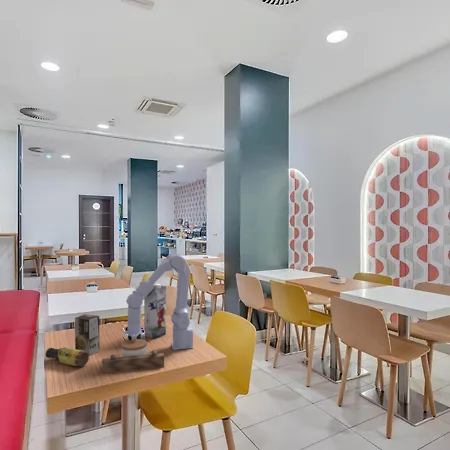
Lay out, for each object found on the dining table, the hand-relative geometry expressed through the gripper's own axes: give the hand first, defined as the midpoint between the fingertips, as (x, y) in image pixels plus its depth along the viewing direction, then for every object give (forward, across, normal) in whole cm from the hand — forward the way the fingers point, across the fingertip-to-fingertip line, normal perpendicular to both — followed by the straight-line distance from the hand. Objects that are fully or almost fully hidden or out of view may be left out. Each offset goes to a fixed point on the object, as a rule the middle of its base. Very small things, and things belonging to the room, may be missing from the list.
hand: (134, 351), depth 151 cm
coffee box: (+2, -9, -21) cm, 23 cm away
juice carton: (+2, -24, +10) cm, 26 cm away
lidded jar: (+2, +8, 0) cm, 8 cm away
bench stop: (+1, +15, 0) cm, 15 cm away
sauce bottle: (-2, +8, -19) cm, 21 cm away
